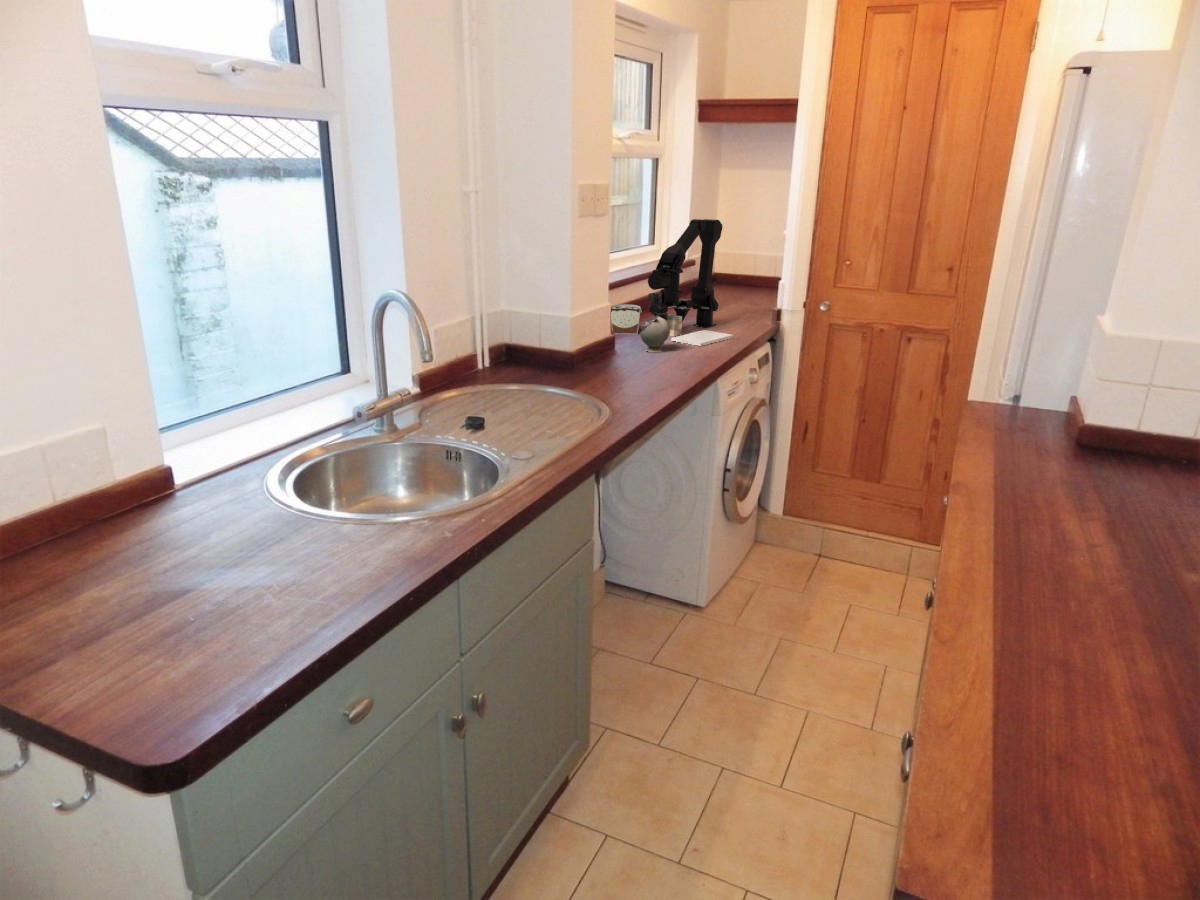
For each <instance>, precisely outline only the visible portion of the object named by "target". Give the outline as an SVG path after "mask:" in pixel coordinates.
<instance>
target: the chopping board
mask: <svg viewBox="0 0 1200 900" xmlns="http://www.w3.org/2000/svg"><path fill="white" fill-rule="evenodd" d="M733 338H734V335H733V334H729V333H724V332H718V331H712V330H706V329H703V330H700V331H698V330H697V331H693V332H690V333H686V334H681V335H680V336H676V337H670V339H671V340H670V342H672V341H676V342H675V343H677V342H681V343H680V344H683V343H688V344H692V345H691V346H693V345H699V346H702V345H706V344H709V345H711V344H710V343H713V344H715V343H714V342H717V343H719V341H721V342H724V341H727V339H728V340H731V339H733ZM723 340H724V341H723ZM688 344H687V345H688ZM706 346H707V345H706ZM702 347H703V346H702Z"/></svg>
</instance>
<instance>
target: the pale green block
mask: <svg viewBox="0 0 1200 900" xmlns="http://www.w3.org/2000/svg"><path fill="white" fill-rule="evenodd" d="M667 322H668V324H669V327H670V333H669V335H670V336H676V335H680V334H681V335H683V333H682V332H683V331H682V330H683V322H682V316H677V315H676V314H669V313H668V316H667ZM681 335H680V336H681ZM670 336H669V337H670ZM676 337H677V336H676Z"/></svg>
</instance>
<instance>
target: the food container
mask: <svg viewBox="0 0 1200 900" xmlns="http://www.w3.org/2000/svg"><path fill="white" fill-rule="evenodd" d="M611 307H612V309H611V316H610V323H611V332H612V331H613V333H615V334H614V335H639V333H638V332H639V326H640V325H639V324H640V316H641V314H642V313H643V312H642V308H641V306H640V305H637V304H613V305H611Z"/></svg>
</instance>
